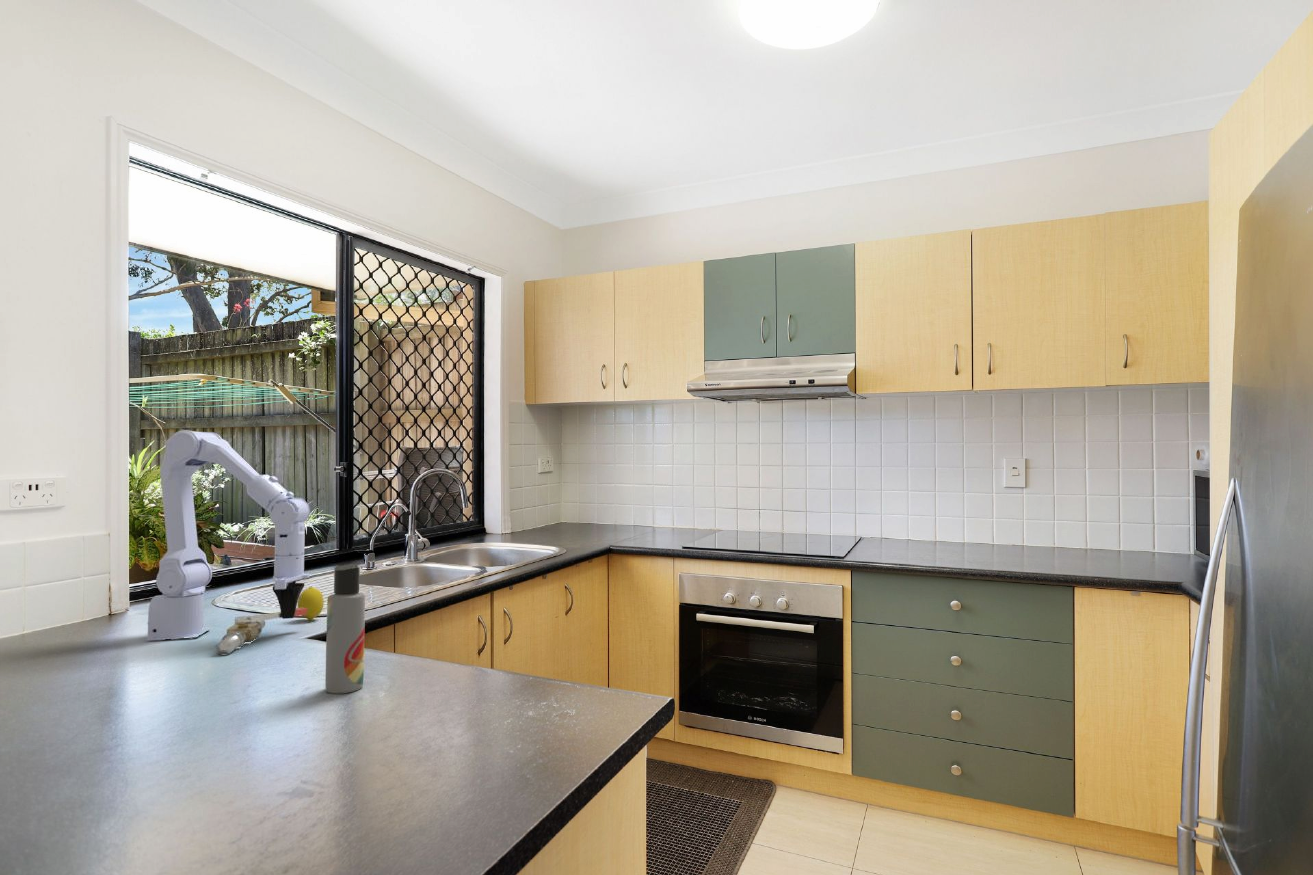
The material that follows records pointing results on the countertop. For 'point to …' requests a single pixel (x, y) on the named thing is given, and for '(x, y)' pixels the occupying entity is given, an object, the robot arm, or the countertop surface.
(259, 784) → the countertop surface
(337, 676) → the lotion bottle
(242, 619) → the lever
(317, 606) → the lemon
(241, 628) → the valve
